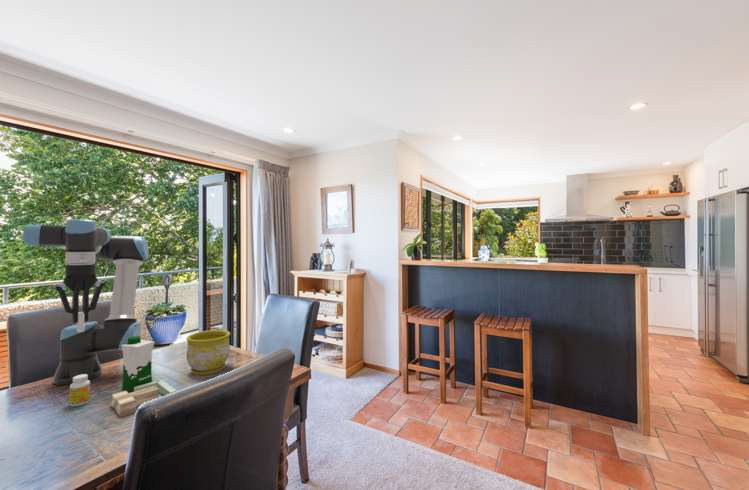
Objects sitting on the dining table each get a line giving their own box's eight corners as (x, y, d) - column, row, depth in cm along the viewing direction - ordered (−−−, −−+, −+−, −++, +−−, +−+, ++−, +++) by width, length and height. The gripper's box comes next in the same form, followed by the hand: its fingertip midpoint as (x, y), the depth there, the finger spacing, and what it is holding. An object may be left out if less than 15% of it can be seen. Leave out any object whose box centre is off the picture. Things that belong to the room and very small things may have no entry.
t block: (111, 405, 109) (111, 394, 109) (151, 393, 119) (151, 382, 119) (120, 416, 102) (121, 404, 102) (162, 402, 111) (162, 391, 111)
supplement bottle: (66, 408, 107) (67, 380, 107) (72, 401, 112) (73, 374, 112) (86, 404, 109) (87, 377, 110) (92, 398, 114) (92, 372, 114)
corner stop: (133, 395, 117) (134, 387, 117) (161, 386, 124) (161, 379, 124) (147, 408, 107) (148, 399, 107) (176, 398, 114) (176, 390, 114)
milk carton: (138, 381, 129) (139, 334, 129) (156, 383, 127) (157, 335, 127) (117, 390, 120) (118, 340, 120) (136, 393, 118) (137, 342, 119)
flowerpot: (237, 364, 149) (238, 330, 149) (212, 379, 131) (212, 341, 132) (205, 361, 152) (206, 328, 152) (176, 376, 134) (176, 339, 135)
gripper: (56, 265, 98) (55, 338, 98) (108, 263, 108) (107, 329, 109) (51, 264, 102) (51, 333, 102) (102, 262, 113) (101, 325, 113)
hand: (80, 331), depth 105 cm, fingers closed
